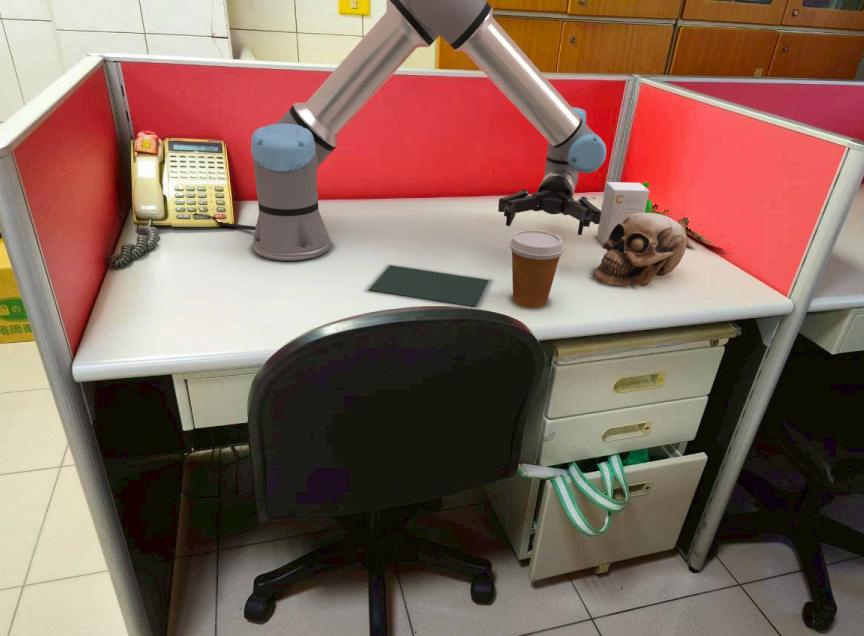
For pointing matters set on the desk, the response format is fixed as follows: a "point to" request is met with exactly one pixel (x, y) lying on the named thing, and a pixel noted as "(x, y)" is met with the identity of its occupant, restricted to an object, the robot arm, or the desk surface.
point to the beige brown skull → (641, 250)
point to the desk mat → (430, 285)
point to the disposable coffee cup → (534, 266)
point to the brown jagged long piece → (692, 233)
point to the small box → (620, 205)
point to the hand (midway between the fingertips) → (544, 223)
